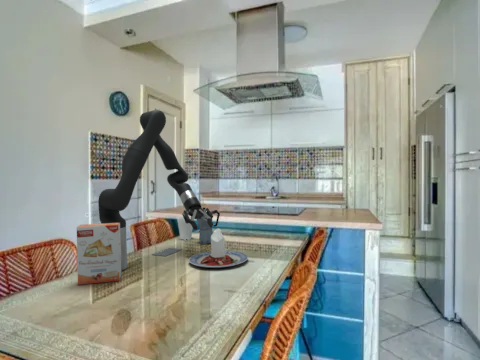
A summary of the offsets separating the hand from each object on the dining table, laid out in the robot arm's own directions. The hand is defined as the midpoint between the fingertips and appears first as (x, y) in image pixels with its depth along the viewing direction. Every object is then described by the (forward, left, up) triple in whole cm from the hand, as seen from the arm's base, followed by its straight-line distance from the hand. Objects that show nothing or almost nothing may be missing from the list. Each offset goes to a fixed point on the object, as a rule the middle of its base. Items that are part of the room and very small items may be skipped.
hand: (204, 227), depth 140 cm
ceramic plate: (-4, -9, -15) cm, 17 cm away
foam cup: (+33, +32, -14) cm, 48 cm away
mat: (+3, +23, -14) cm, 27 cm away
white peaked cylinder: (-4, -9, -12) cm, 15 cm away
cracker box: (-40, +21, -14) cm, 47 cm away
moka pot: (+29, +15, -14) cm, 36 cm away
